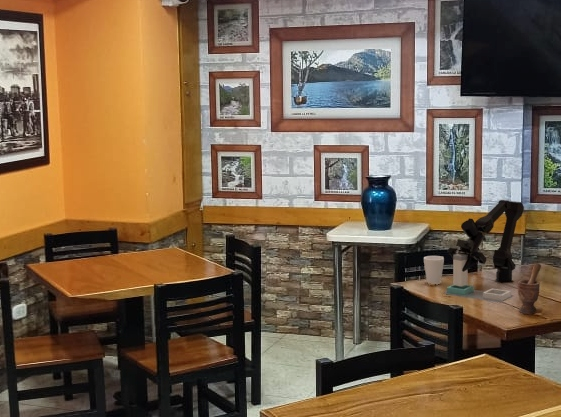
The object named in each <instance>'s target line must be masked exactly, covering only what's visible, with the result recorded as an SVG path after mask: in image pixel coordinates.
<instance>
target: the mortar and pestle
mask: <svg viewBox="0 0 561 417" xmlns="http://www.w3.org/2000/svg"><path fill="white" fill-rule="evenodd" d="M541 268H542V265H541V264H540V263H537V262H536V263H535V264H534V265H533V268H532V271H531V275H530V278H529V279H520V280H518V282H517V295H518V297H519V300H520V301H521V303H522V305H521V306H520V307H519V308H518V312H519V313H520V314H521V313H522V314H523V315H534V314H536V313H537V310H538V309H537V307H535V303H536V302H537V301H538V299H539V295H540V285H541V284H540V281H538V280H536V279H537V277H538V274H539V273H540V271H541Z"/></svg>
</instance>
